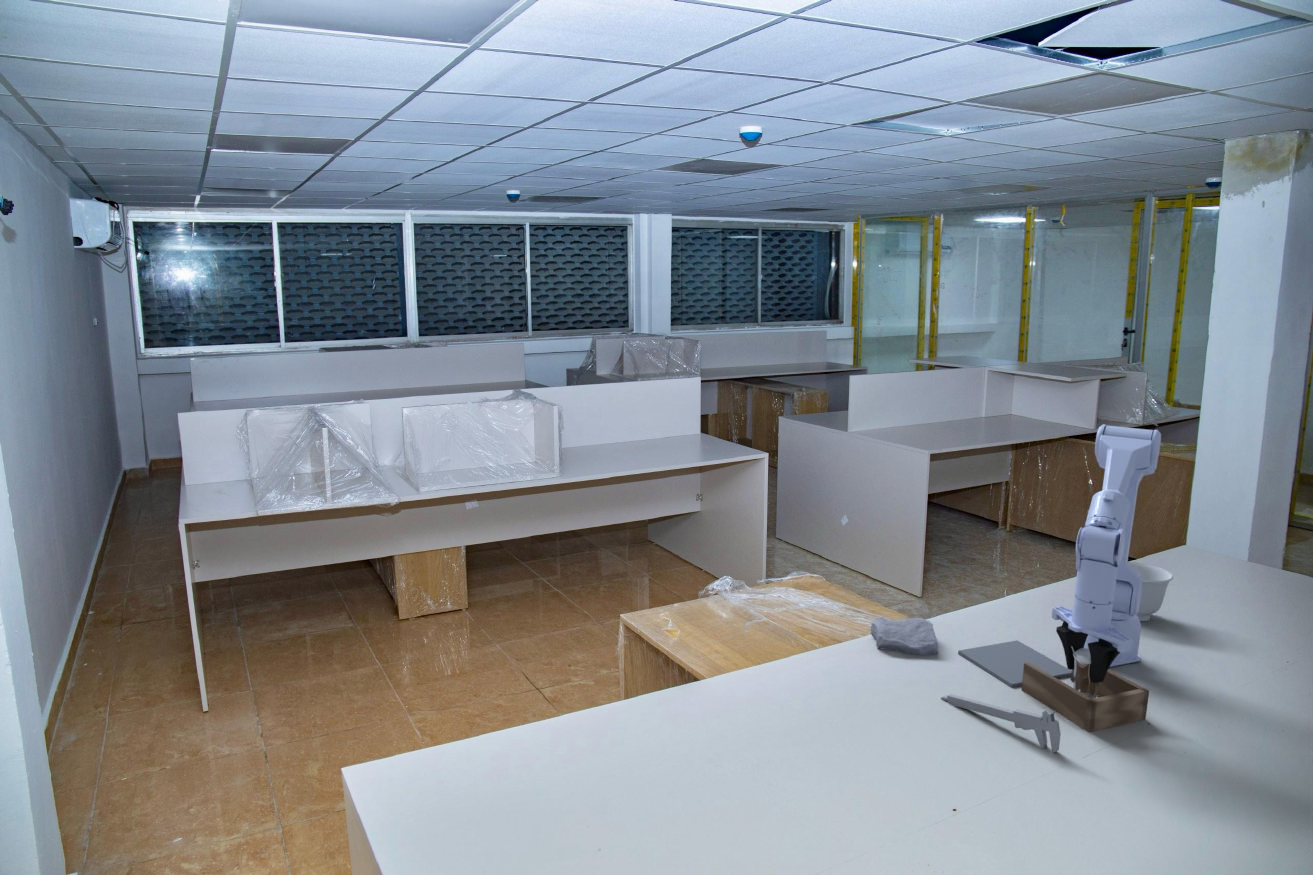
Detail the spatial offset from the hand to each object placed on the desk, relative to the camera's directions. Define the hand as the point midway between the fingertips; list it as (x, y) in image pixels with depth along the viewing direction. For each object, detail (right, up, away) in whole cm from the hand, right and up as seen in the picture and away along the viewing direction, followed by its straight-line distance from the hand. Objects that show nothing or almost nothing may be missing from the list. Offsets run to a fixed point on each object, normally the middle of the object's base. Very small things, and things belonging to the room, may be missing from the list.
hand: (1084, 674), depth 143 cm
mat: (-5, -2, +15) cm, 16 cm away
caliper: (-17, -7, -5) cm, 19 cm away
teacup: (+28, +2, +39) cm, 48 cm away
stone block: (-23, -1, +23) cm, 33 cm away
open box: (0, -5, +1) cm, 5 cm away
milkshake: (0, -5, +1) cm, 5 cm away
